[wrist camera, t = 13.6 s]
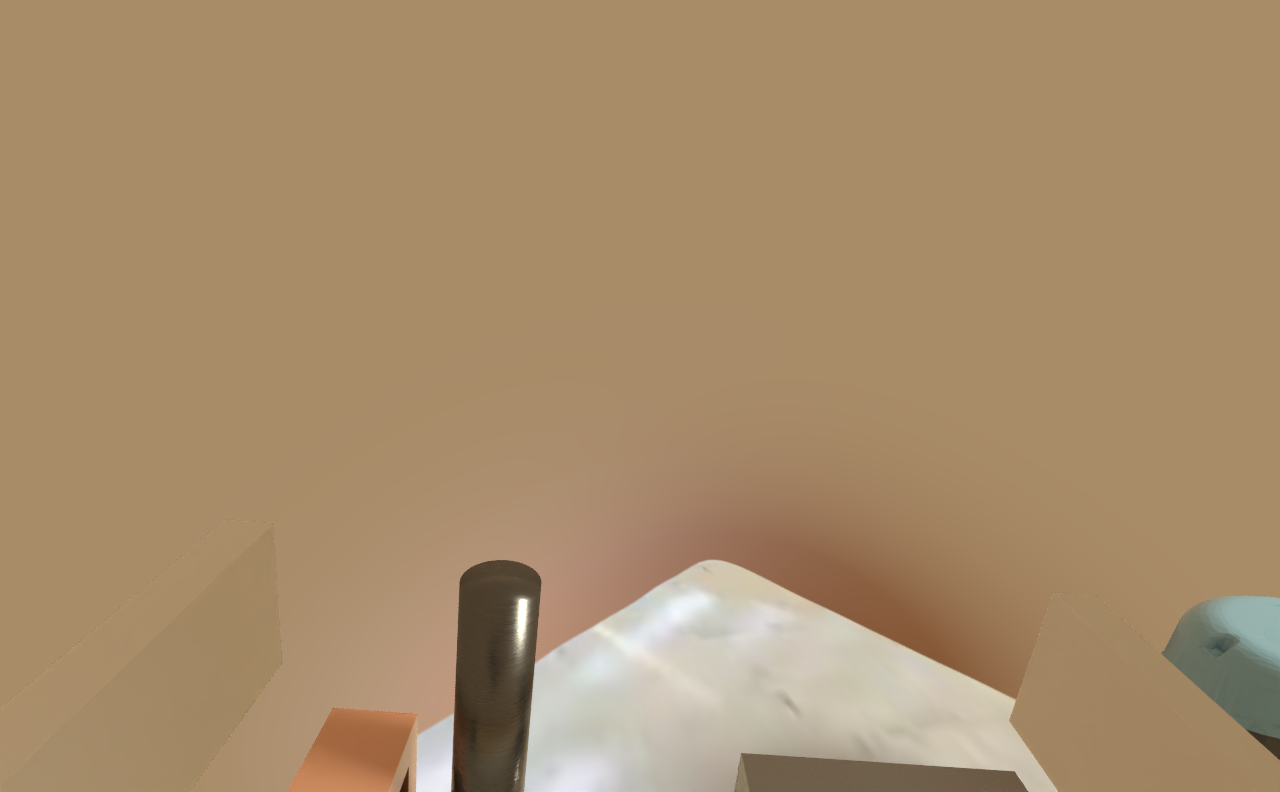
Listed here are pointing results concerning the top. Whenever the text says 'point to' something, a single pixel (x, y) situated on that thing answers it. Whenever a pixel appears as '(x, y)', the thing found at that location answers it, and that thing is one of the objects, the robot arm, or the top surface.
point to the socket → (361, 754)
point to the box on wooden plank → (864, 776)
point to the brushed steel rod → (494, 676)
